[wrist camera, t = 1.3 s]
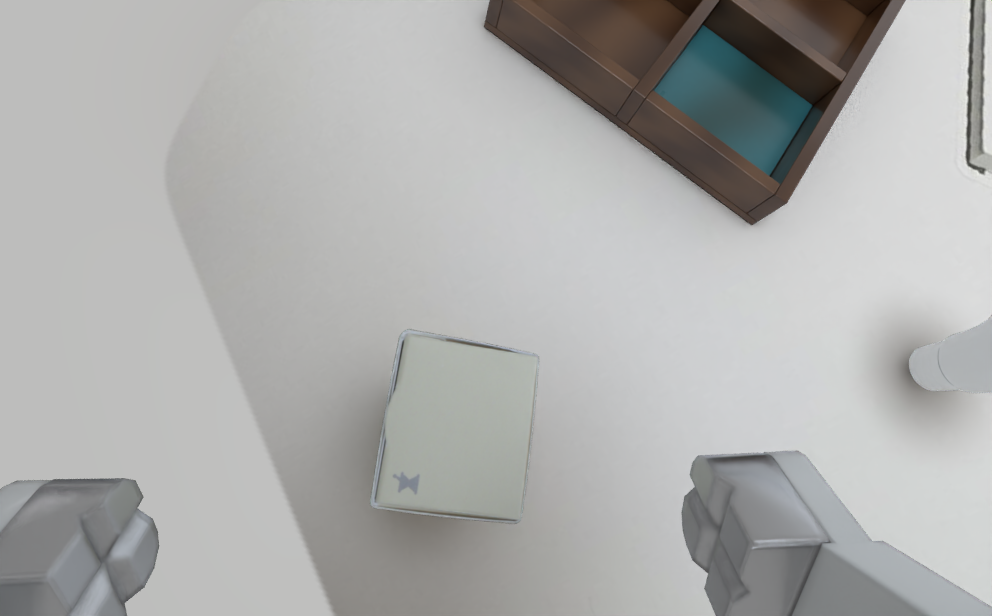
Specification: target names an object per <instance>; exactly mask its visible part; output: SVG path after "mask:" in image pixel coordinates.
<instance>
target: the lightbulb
mask: <svg viewBox="0 0 992 616" xmlns="http://www.w3.org/2000/svg"><path fill="white" fill-rule="evenodd" d="M909 369H910V373H911V375H912V377H913V379H914V380H915V381H916V382H917V383H918V384H919V385H920V386H921V387H923V388H925V389H927V390H929V391H951V390H953V391H955V390H962V391H965V392H969V393H992V315H991V316H990V317H989V318H988V319H987V320H986V321H984V322H983V323H981V324H980V325H978V326H976V327H974V328H971V329H969V330H967V331H963V332H960V333H956V334H953V335H951V336H949V337H948V338H946V339H945V340H944V341H941V342H936V343H933V344H929V345H926V346H923V347H920V348H917V349H916V350H915V351H914V352H913V353H912V355H911V357H910V360H909Z"/></svg>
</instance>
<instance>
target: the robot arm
mask: <svg viewBox="0 0 992 616" xmlns="http://www.w3.org/2000/svg"><path fill="white" fill-rule="evenodd" d="M690 477H691V479H692V481H693V483H694V485H695V487H694V488H693V489H692V490H691V491H690V492H689V493H688V494H687V495H685V497H684V502H683V508H682V526H683V533H684V537H685V541H686V545H687V548H688V550H689V553H690V555H691V558H692V560H693V561H694V562H695V563H696V564H697V565H699V566H700V567H701V568H702V569H704V570H705V571H706V572H707V573H708V577H707V581H706V584H705V588H704V589H705V591H706V594H707V596H708V598H709V601H710V603H711V605H712V608H713V610H714V612H715V615H716V616H992V607H991V606H989V605H988V604H986V603H984V602H983V601H981V600H979V599H978V598H976V597H975V596H973V595H971V594H970V593H968V592H966V591H965V590H963V589H961V588H960V587H958V586H956V585H955V584H953V583H951V582H950V581H948V580H947V579H945V578H943V577H942V576H940V575H938V574H937V573H935V572H933V571H932V570H930V569H928V568H927V567H925V566H924V565H922V564H920V563H919V562H917V561H915V560H914V559H912V558H910V557H909V556H907V555H905V554H904V553H902V552H901V551H899V550H897V549H896V548H894V547H892V546H891V545H889V544H887V543H886V542H884V541H872V540H871V539H870V538H869V536H868V535H867V534H866V532H865V531H864V530H863V528H862V527H861V526H860V525H859V523H858V522H857V521H856V519H855V518H854V517H853V516H852V514H851V513H850V512H849V510H848V509H847V508H846V507H845V505H844V504H843V503H842V501H841V500H840V499H839V498H838V496H837V495H836V494H835V492H834V491H833V490H832V488H831V487H830V486H829V485H828V483H827V482H826V481H825V479H824V478H823V477H822V476H821V474H820V473H819V472H818V470H817V469H816V468H815V467H814V465H813V464H812V463H811V461H810V460H809V459H808V458H807V456H806V455H804V454H802V453H801V452H799V451H780V452H764V453H741V454H721V455H700V456H697V457H696V459H695V460H694V461H693V463H692V467H691V471H690ZM142 499H143V495H142V493H141V491H140V489H139V487H138V485H137V483H136V481H135V480H130V479H125V478H121V479H120V478H115V479H54V480H34V481H33V480H32V481H31V480H28V481H15V482H13V483H11V484H9V485H6V486H4V487H2V488H1V489H0V616H127V613H126V608H125V604H124V603H125V602H126V601H128V600H129V599H130V598H131V597H133V596H134V595H135V594H136V593H138V592H139V591H140V590H141V589H143V588H144V587H145V585H146V583H147V581H148V579H149V577H150V575H151V573H152V571H153V569H154V566H155V562H156V557H157V553H158V549H159V541H158V531H157V528H156V526H155V523H154V521H153V519H152V518H151V517H149V516H148V515H146V514H144V513H143V512H142V511H140V510H139V509H137V507H138V506H139V504H140V502H141V501H142Z"/></svg>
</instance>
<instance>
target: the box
mask: <svg viewBox="0 0 992 616" xmlns="http://www.w3.org/2000/svg"><path fill="white" fill-rule="evenodd" d="M538 368H539V356H538V355H537V354H534V353H531V352H526V351H521V350H517V349H512V348H507V347H502V346H497V345H493V344H488V343H482V342H477V341H472V340H467V339H462V338H456V337H450V336H445V335H440V334H434V333H428V332H422V331H416V330H411V329H407V330H405V331H404V332H403V333H401V335H400V337H399V341H398V346H397V350H396V355H395V360H394V365H393V370H392V376H391V381H390V387H389V392H388V397H387V403H386V408H385V414H384V419H383V425H382V430H381V436H380V443H379V449H378V455H377V461H376V467H375V474H374V480H373V486H372V491H371V497H370V504H371V506H372V507H373V508H376V509H385V510H391V511H398V512H405V513H412V514H419V515H427V516H436V517H445V518H454V519H463V520H475V521H487V522H499V523H509V524H516V523H518V522H519V521H520V520H521V518H522V512H523V505H524V497H525V491H526V484H527V476H528V469H529V460H530V452H531V443H532V434H533V425H534V412H535V403H536V393H537V381H538Z"/></svg>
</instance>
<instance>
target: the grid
mask: <svg viewBox="0 0 992 616" xmlns="http://www.w3.org/2000/svg"><path fill="white" fill-rule="evenodd" d="M905 1H906V0H490V1H489V6H488V11H487V15H486V20H485V24H484V27H485V28H487V29H488V30H489V31H491V32H492V33H493V34H495V35H496V36H497V37H499V38H500V39H502V40H503V41H504V42H506V43H507V44H508V45H510V46H511V47H512V48H514V49H515V50H516V51H518V52H519V53H520V54H522V55H523V56H524V57H526V58H527V59H529V60H530V61H531V62H533V63H534V64H535V65H537V66H538V67H539V68H541V69H542V70H543V71H545V72H546V73H547V74H549V75H550V76H552V77H553V78H554V79H556V80H557V81H558V82H560V83H561V84H562V85H564V86H565V87H566V88H568V89H569V90H570V91H572V92H573V93H574V94H576V95H577V96H579V97H580V98H581V99H583V100H584V101H585V102H587V103H588V104H589V105H591V106H592V107H593V108H595V109H596V110H597V111H599V112H600V113H602V114H603V115H604V116H606V117H607V118H608V119H610V120H611V121H612V122H614V123H615V124H616V125H618V126H619V127H620V128H622V129H623V130H624V131H626V132H627V133H629V134H630V135H631V136H633V137H634V138H635V139H637V140H638V141H639V142H641V143H642V144H643V145H645V146H646V147H647V148H649V149H650V150H652V151H653V152H654V153H656V154H657V155H658V156H660V157H661V158H662V159H664V160H665V161H666V162H668V163H669V164H670V165H672V166H673V167H675V168H676V169H677V170H679V171H680V172H681V173H683V174H684V175H685V176H687V177H688V178H689V179H691V180H692V181H693V182H695V183H696V184H697V185H699V186H700V187H702V188H703V189H704V190H706V191H707V192H708V193H710V194H711V195H712V196H714V197H715V198H716V199H718V200H719V201H720V202H722V203H723V204H725V205H726V206H727V207H729V208H730V209H731V210H733V211H734V212H735V213H737V214H738V215H739V216H741V217H742V218H743V219H745V220H746V221H747V222H749V223H750V224H752V225H753V224H755V223H756V222H758V221H760V220H761V219H763V218H764V217H766V216H767V215H769V214H771V213H772V212H774V211H775V210H777V209H779V208H780V207H782V206H783V205H785V204H786V203H787V202H788V200H789V199H790V197H791V195H792V194H793V192H794V190H795V188H796V187H797V185H798V183H799V182H800V180H801V178H802V176H803V175H804V173H805V171H806V170H807V168H808V166H809V165H810V163H811V161H812V159H813V158H814V156H815V154H816V153H817V151H818V149H819V147H820V146H821V144H822V142H823V141H824V139H825V137H826V136H827V134H828V132H829V130H830V129H831V127H832V125H833V124H834V122H835V120H836V118H837V117H838V115H839V113H840V112H841V110H842V108H843V107H844V105H845V103H846V101H847V100H848V98H849V96H850V95H851V93H852V91H853V89H854V88H855V86H856V84H857V83H858V81H859V79H860V77H861V76H862V74H863V72H864V71H865V69H866V67H867V66H868V64H869V62H870V60H871V59H872V57H873V55H874V54H875V52H876V50H877V48H878V47H879V45H880V43H881V42H882V40H883V38H884V37H885V35H886V33H887V31H888V30H889V28H890V26H891V25H892V23H893V21H894V19H895V18H896V16H897V14H898V13H899V11H900V9H901V8H902V6H903V4H904V2H905Z"/></svg>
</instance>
